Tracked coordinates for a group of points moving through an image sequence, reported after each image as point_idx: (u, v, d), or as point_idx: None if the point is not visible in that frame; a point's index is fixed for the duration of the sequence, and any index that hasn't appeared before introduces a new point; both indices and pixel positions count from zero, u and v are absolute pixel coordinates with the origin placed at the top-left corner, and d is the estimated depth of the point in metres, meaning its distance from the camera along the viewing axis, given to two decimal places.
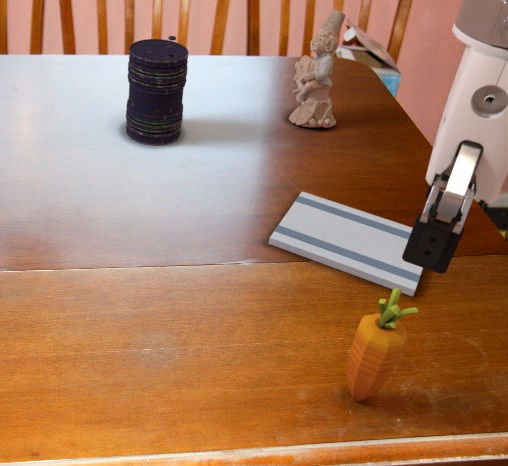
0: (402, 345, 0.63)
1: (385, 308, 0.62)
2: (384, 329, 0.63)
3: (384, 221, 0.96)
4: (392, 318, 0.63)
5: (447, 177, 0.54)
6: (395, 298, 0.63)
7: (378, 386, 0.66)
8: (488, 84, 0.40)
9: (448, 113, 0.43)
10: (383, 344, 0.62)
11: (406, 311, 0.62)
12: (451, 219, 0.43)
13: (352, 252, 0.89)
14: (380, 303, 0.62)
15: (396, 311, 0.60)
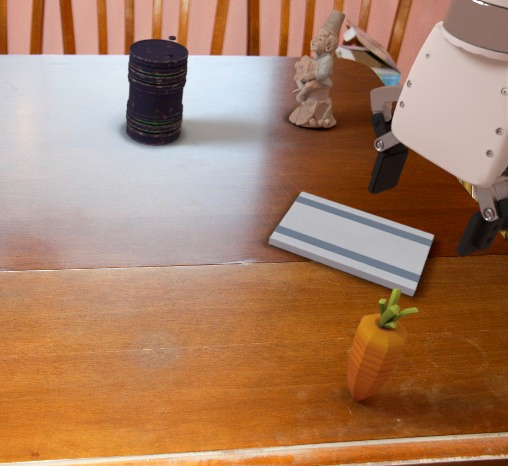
0: (402, 345, 0.63)
1: (385, 308, 0.62)
2: (384, 329, 0.63)
3: (384, 221, 0.96)
4: (392, 318, 0.63)
5: (389, 168, 0.57)
6: (395, 298, 0.63)
7: (378, 386, 0.66)
8: None
9: (507, 124, 0.45)
10: (383, 344, 0.62)
11: (406, 311, 0.62)
12: None
13: (352, 252, 0.89)
14: (380, 303, 0.62)
15: (396, 311, 0.60)
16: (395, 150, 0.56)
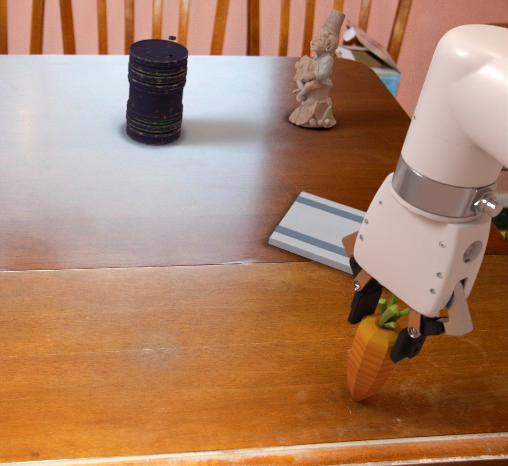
0: None
1: (385, 308, 0.62)
2: (384, 329, 0.63)
3: None
4: (392, 318, 0.63)
5: (366, 304, 0.64)
6: (395, 298, 0.63)
7: (378, 386, 0.66)
8: (472, 242, 0.52)
9: (445, 271, 0.53)
10: (383, 343, 0.62)
11: (406, 311, 0.62)
12: None
13: None
14: (380, 303, 0.62)
15: (396, 311, 0.60)
16: (371, 290, 0.64)
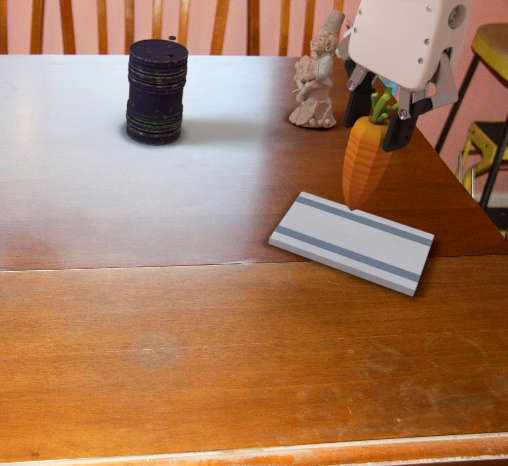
0: None
1: (377, 103, 0.67)
2: (377, 124, 0.68)
3: (384, 221, 0.96)
4: (384, 112, 0.67)
5: (360, 105, 0.69)
6: None
7: (371, 187, 0.71)
8: (456, 5, 0.57)
9: (432, 35, 0.58)
10: (376, 135, 0.67)
11: (397, 105, 0.67)
12: None
13: (352, 252, 0.89)
14: (373, 96, 0.66)
15: (387, 98, 0.65)
16: (364, 89, 0.68)
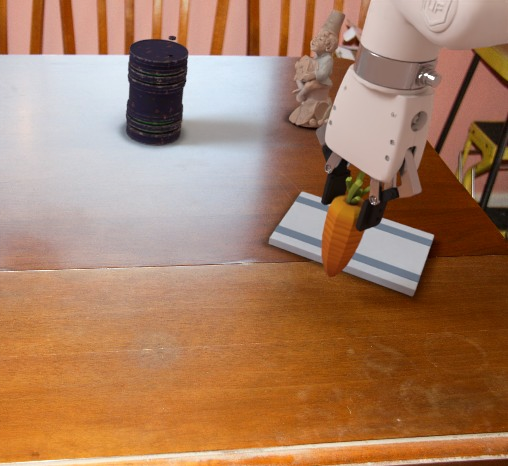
0: None
1: (351, 186, 0.74)
2: (351, 205, 0.74)
3: (384, 221, 0.96)
4: (357, 194, 0.74)
5: (336, 185, 0.76)
6: (360, 178, 0.74)
7: (347, 259, 0.78)
8: (418, 112, 0.63)
9: (396, 137, 0.64)
10: (350, 215, 0.73)
11: (369, 188, 0.73)
12: None
13: None
14: (347, 180, 0.73)
15: (360, 184, 0.71)
16: (340, 172, 0.75)
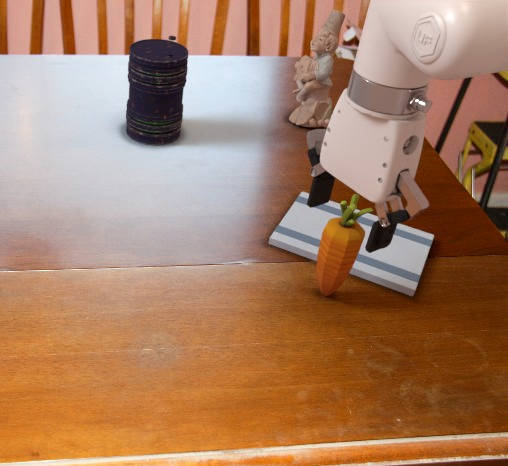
0: (360, 240, 0.76)
1: (346, 209, 0.76)
2: (345, 227, 0.76)
3: None
4: (351, 217, 0.76)
5: (321, 188, 0.78)
6: (354, 202, 0.76)
7: (342, 279, 0.80)
8: (409, 136, 0.65)
9: (389, 161, 0.66)
10: (344, 238, 0.75)
11: (363, 211, 0.75)
12: (415, 216, 0.68)
13: None
14: (341, 204, 0.75)
15: (353, 208, 0.73)
16: (325, 175, 0.77)
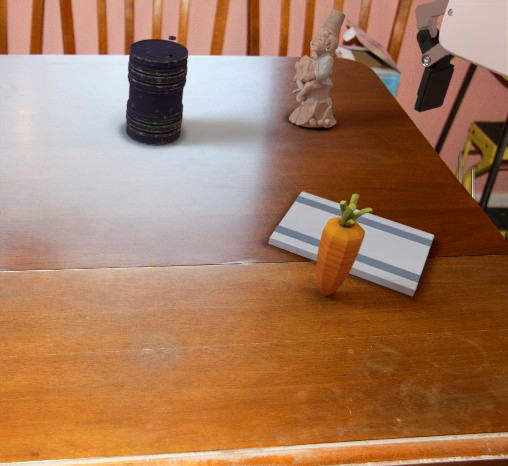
0: (359, 239, 0.76)
1: (345, 209, 0.76)
2: (345, 227, 0.76)
3: (384, 221, 0.96)
4: (351, 217, 0.76)
5: (436, 84, 0.58)
6: (354, 202, 0.76)
7: (341, 279, 0.80)
8: None
9: None
10: (344, 238, 0.75)
11: (362, 211, 0.75)
12: None
13: None
14: (341, 204, 0.75)
15: (353, 208, 0.73)
16: (442, 65, 0.57)
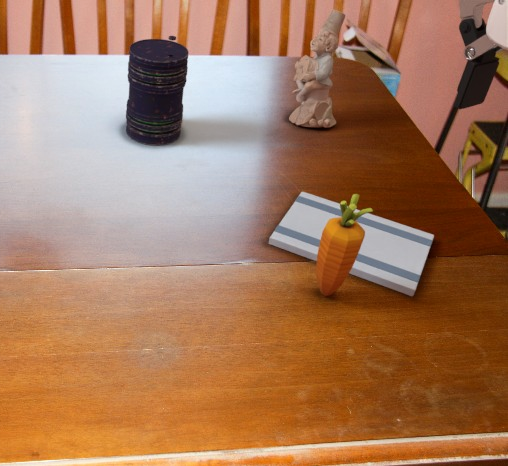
0: (359, 240, 0.76)
1: (345, 209, 0.76)
2: (345, 227, 0.76)
3: (384, 221, 0.96)
4: (351, 217, 0.76)
5: (479, 78, 0.53)
6: (354, 202, 0.76)
7: (342, 279, 0.80)
8: None
9: None
10: (344, 238, 0.75)
11: (362, 211, 0.75)
12: None
13: None
14: (341, 204, 0.75)
15: (353, 208, 0.73)
16: (487, 58, 0.52)
